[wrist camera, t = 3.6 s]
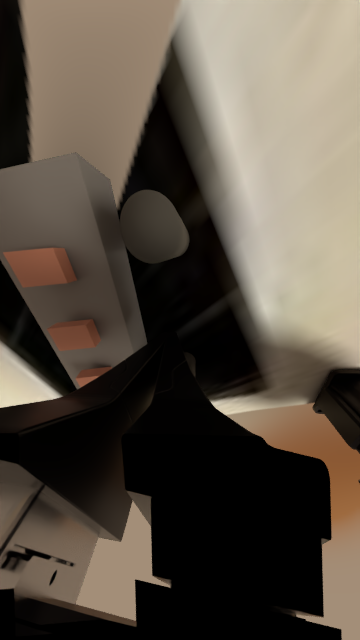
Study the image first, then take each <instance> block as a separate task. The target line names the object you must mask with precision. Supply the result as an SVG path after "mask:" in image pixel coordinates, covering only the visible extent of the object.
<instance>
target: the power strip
mask: <svg viewBox="0 0 360 640" xmlns="http://www.w3.org/2000/svg"><path fill="white" fill-rule="evenodd" d="M43 248H65V251H66V253H67V256H68V258H69V261H70V263H71V266H72V268H73V271H74V274H75V276H76V279H77V280H76V281H73V282H70V283H64V284H54V285H44V286H34V287H24V288H23V287H22V285H21V283H20V282H19V280H18V278H17V276H16V275H15V273H14V271H13V269H12V268H11V266H10V264H9V262H8V261H7V259H6V257H5V256H4V254H3V252H12V251H23V250H33V249H43ZM0 260H1V261H2V263H3V265H4V267H5V268H6V270H7V272H8V273H9V275H10V277H11V278H12V280H13V282H14V283H15V285H16V287H17V288H18V290H19V292H20V293H21V295H22V297H23V299H24V300H25V302H26V304H27V305H28V307H29V309H30V310H31V312H32V314H33V315H34V317H35V319H36V320H37V322H38V324H39V325H40V327H41V329H42V330H43V332H44V334H45V336H46V337H47V339H48V341H49V342H50V344H51V346H52V347H53V349H54V351H55V352H56V354H57V356H58V357H59V359H60V361H61V362H62V364H63V366H64V367H65V369H66V371H67V373H68V374H69V376H70V378H71V379H72V381H73V383H74V384H75V386H76V388H77V389H79V388H81V387H80V386H79V384H78V382H77V381H76V379H75V378H76V377H77V376H78V374H79V373H80V372H81V370H86V369H95V368H104V367H112V368H113V367H115V366H116V365H118V364H119V363H121V362H122V361H123V360H125V359H126V358H128V357H129V356H131V355H132V354H133V353H135V352H136V351H138V350H139V349H141V348H142V347H143V346H145V345H146V344H147V339H146V335H145V331H144V326H143V322H142V318H141V313H140V309H139V304H138V300H137V296H136V291H135V287H134V283H133V278H132V274H131V269H130V265H129V261H128V256H127V252H126V248H125V244H124V241H123V239H122V236H121V231H120V221H119V217H118V213H117V208H116V204H115V200H114V195H113V191H112V187H111V182H110V179H109V178H107V177H106V176H105V175H104V174H102V173H101V172H100V171H98V170H97V169H96V168H95V167H94V166H92V165H91V164H90V163H89V162H87V161H86V160H85V159H83V158H82V157H81V156H80V155H79V154H77V153H71V154H67V155H63V156H58V157H53V158H49V159H44V160H40V161H35V162H31V163H26V164H22V165H18V166H13V167H9V168H4V169H0ZM88 319H93V321H94V324H95V326H96V329H97V331H98V334H99V336H100V339H101V341H100V342H99V343H98V345H97V346H96V347H93V348H84V349H75V350H65V351H59V349H58V348H57V346H56V344H55V342H54V341H53V339H52V337H51V335H50V334H49V332H48V330H47V329H48V328H49V327H51V326H52V325H54V324H56V323H59V322H69V321H79V320H88Z"/></svg>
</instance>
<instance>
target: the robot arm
mask: <svg viewBox="0 0 360 640" xmlns="http://www.w3.org/2000/svg"><path fill="white" fill-rule="evenodd" d="M313 410H314V411H315V412H316V413H319V414H325V416H326V417H327V418H328V419H329V421H330V422H331V423H332V425H333V426H334V427H335V429H336V430H337V431H338V432H339V434H340V435H341V436H342V438H343V439H344V440H345V442H346V443H347V444H348V445H349V446H350V447H351V448H352V449H355V450H357V451H358V452H359V453H360V370H334V371H332V372H331V373H330V375H329V377H328V379H327V380H326V382H325V384H324V386H323V388H322V390H321V392H320V394H319V396H318V398H317V400H316V402H315V404H314V406H313ZM359 483H360V480H359ZM132 500H133V501H134V503H135V504H136V506H137V507H138V508H139V510H140V511H141V513H142V514H143V516H144V517H145V518H146V520H147V521H148V523H149V524H150V526H151V536H152V537H151V539H152V575H153V576H154V577H156V578H157V579H159V580H161V581H163V582H165V583H166V584H168V585H170V588H169V587H164V586H160V585H156V584H152V583H148V582H144V581H140V580H135V589H136V590H135V591H136V621H134V620H130V619H127V618H123V617H119V616H116V615H112V614H108V613H105V612H101V611H97V610H94V609H90V608H87V607H83V606H79V605H76V601H77V598H78V595H79V592H80V589H81V586H82V584H83V581H84V578H85V575H86V572H87V569H88V566H89V563H90V560H91V557H92V554H93V552H94V549H95V546H96V543H97V540H98V537H99V538H104V539H109V540H115V541H119V542H121V540H122V537H123V533H124V530H125V526H126V523H127V519H128V515H129V511H130V508H131V504H132ZM330 502H331V501H330V477H329V471H328V469H327V467H326V465H325V463H324V462H323V461H322V460H320V459H318V458H313V457H310V456H305V455H301V454H297V453H293V452H289V451H285V450H281V449H277V448H273V447H272V446H270V445H268V444H267V443H266V442H265V440H264V439H263V438H262V437H260V436H258V435H255V434H253V433H251V432H250V431H248V430H246V429H245V428H243V427H242V426H240V425H239V424H238V423H236V422H234V421H233V420H232V419H230V418H229V417H227V416H226V415H224V414H223V413H221V412H220V411H219V410H217V409H216V408H215V407H214V406H213V405H212V403H211V402H210V401H209V399H208V398H207V396H206V394H205V393H204V391H203V390H202V388H201V386H200V385H199V383H198V381H197V380H196V378H195V376H194V375H193V373H192V371H191V369H190V366H189V364H188V362H187V359H186V357H185V354H184V351H183V349H182V346H181V344H180V341H179V339H178V336H177V334H176V332H170V333H169V332H164V333H162V334H160V335H159V336H158V337H156V338H155V339H153V340H152V341H151V342H149V343H148V344H146V345H145V346H143V347H142V348H141V349H139V350H138V351H136V352H135V353H133V354H132V355H131V356H129V357H128V358H126V359H125V360H123V361H122V362H121V363H119V364H118V365H116V366H115V367H113V368H112V369H110V370H109V371H107V372H105V373H104V374H102V375H101V376H99V377H97V378H96V379H94V380H92V381H91V382H89V383H87V384H86V385H84V386H82V387H81V388H79V389H77V390H76V391H74V392H72V393H70V394H68V395H66V396H63V397H61V398H57V399H53V400H47V401H41V402H35V403H29V404H22V405H16V406H10V407H3V408H0V640H341V639H342V638H341V629H337V628H333V627H329V626H324V625H321V624H316V623H312V622H308V621H306V620H305V619H302V618H298V617H296V615H305V616H315V617H323V616H324V615H323V579H322V578H323V576H322V544H324V543H326V542H327V541H329V540H331V503H330Z"/></svg>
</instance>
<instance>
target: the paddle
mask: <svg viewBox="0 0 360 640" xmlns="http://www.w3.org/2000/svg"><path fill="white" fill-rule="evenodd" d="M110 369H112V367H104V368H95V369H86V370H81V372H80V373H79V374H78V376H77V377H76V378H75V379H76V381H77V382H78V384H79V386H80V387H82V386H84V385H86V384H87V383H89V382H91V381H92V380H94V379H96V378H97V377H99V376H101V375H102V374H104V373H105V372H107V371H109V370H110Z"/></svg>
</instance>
